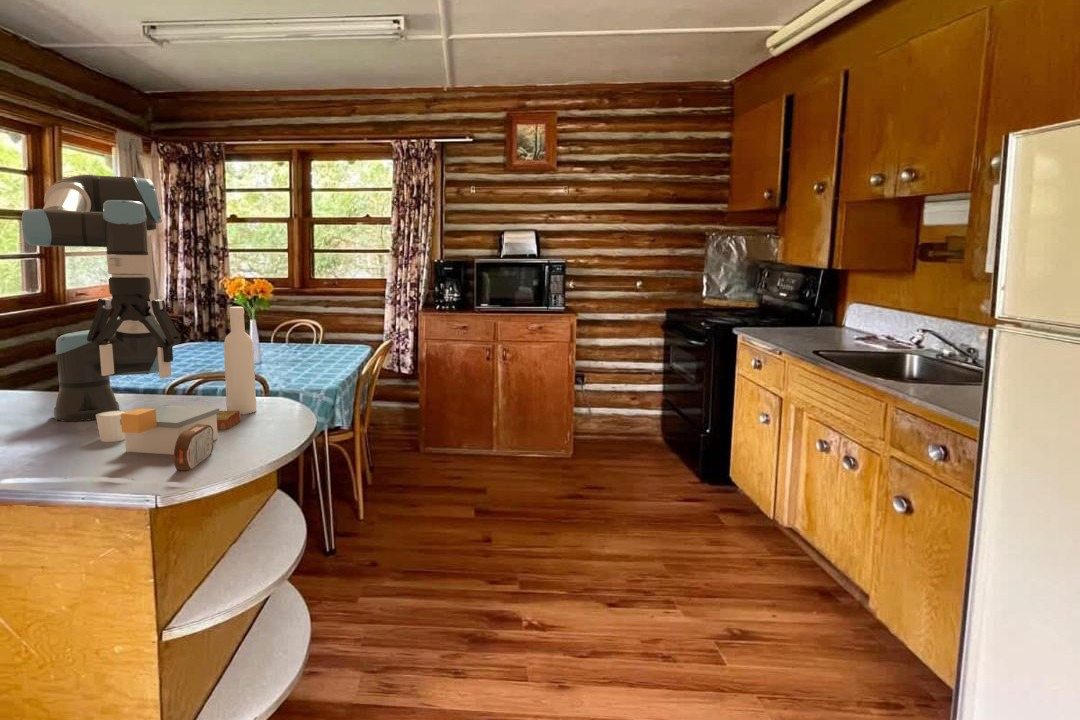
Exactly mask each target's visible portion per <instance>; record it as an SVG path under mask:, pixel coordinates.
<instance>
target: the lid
mask: <svg viewBox="0 0 1080 720" xmlns="http://www.w3.org/2000/svg"><path fill="white" fill-rule="evenodd" d="M128 411H129V412H125V413H122V414H121V419H120V425H121V426H122V432H126V433H141V432H144V431H147V430H150V429H153V428H156V427H165V428H180V427H183V426H185V425H188V424H191V423H194V422H196V421H199V420H202V419H204V418H207V417H210V416H213V415H215V414H218V413H220V412H219V411H220V407H205V406H203V407H202V406H187V405H168V404H167V405H162V406H160V407H157V408H156V407H155V408H142V407H141V408H136V409H132V410H128Z"/></svg>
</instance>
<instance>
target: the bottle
mask: <svg viewBox="0 0 1080 720" xmlns="http://www.w3.org/2000/svg"><path fill="white" fill-rule="evenodd" d="M228 313H229V320H230V321H229V322H230V324H229V325H230V332H229V333H228V334H227V335H226V336H225V338H224V342H223V360H224V364H223V365H224V376H225V377H224V380H225V397H226V398H225V401H226V404H225V406H226V411H239V412H240V414H242V415H248V414H247V413H250V414H253V413H255V412H257V396H256V395H257V394H256V375H255V372H256V371H255V354H254V342H253V339H252V336H250V334H248V333H247V332H246V330H245V310H244V307H243V306H230V307H229V312H228ZM252 412H253V413H252Z"/></svg>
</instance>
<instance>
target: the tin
mask: <svg viewBox="0 0 1080 720" xmlns="http://www.w3.org/2000/svg"><path fill="white" fill-rule="evenodd" d="M213 449H214V441H213V428H212V427H211V426H210V425H205V424H196V425H194V426H192V427H190V428H189V429H187V430H185V431H183V432H182V433H181V434H180V435H179V437H178V439H177V441H176V444H175V448H174V455H173V464H174V467H175V469H176V471H191V470H193V468H194V467H196V466H197V465H199V464H200V463H201V462H203V461H204V460H205V459H207V458H208V457H209V456H211V455H212V453H213Z"/></svg>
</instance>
